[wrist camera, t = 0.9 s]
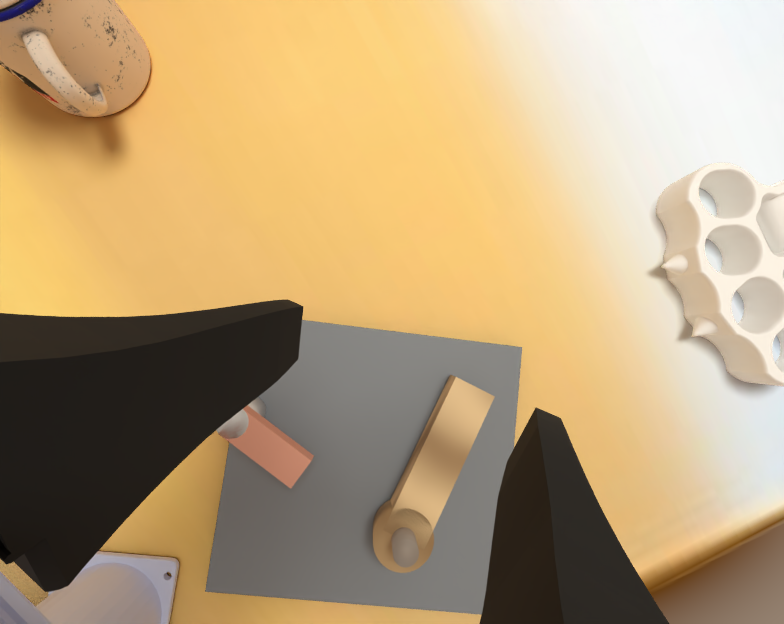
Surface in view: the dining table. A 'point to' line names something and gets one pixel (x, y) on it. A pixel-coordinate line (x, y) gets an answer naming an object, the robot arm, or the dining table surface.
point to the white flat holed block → (730, 265)
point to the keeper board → (359, 471)
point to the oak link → (429, 478)
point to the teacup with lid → (75, 53)
